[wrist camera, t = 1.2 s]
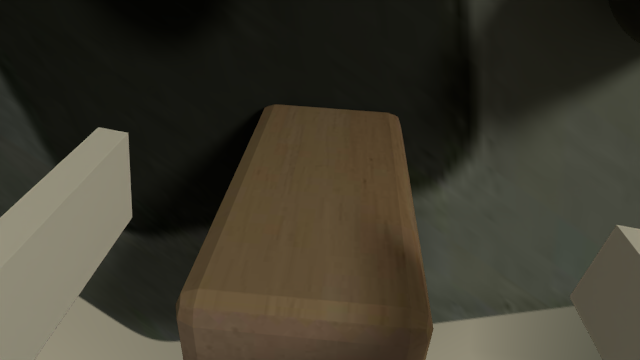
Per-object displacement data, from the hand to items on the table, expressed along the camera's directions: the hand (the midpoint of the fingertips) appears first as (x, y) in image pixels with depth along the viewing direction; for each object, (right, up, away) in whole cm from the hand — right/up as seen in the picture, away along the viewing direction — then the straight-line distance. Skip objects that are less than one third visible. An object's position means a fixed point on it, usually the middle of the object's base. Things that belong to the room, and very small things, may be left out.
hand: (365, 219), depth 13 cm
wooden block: (-1, +2, +24) cm, 24 cm away
